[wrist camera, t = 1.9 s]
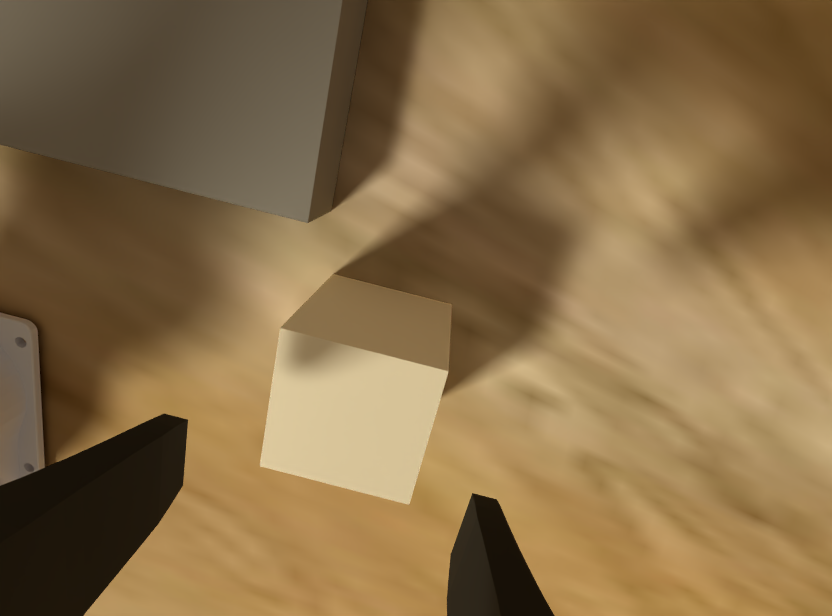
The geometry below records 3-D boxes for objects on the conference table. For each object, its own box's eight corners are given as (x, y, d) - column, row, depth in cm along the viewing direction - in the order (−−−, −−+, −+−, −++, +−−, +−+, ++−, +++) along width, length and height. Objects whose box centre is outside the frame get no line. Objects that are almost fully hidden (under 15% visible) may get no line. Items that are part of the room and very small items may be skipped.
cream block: (423, 406, 21) (409, 505, 15) (314, 378, 21) (259, 466, 15) (451, 303, 19) (448, 371, 13) (333, 273, 19) (280, 327, 13)
